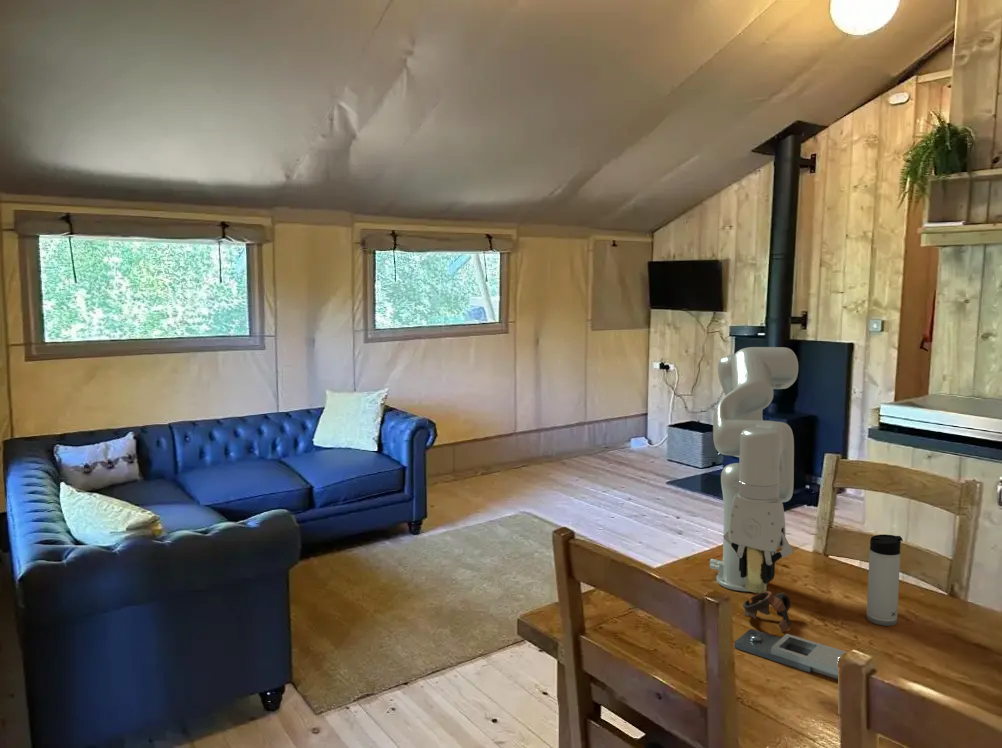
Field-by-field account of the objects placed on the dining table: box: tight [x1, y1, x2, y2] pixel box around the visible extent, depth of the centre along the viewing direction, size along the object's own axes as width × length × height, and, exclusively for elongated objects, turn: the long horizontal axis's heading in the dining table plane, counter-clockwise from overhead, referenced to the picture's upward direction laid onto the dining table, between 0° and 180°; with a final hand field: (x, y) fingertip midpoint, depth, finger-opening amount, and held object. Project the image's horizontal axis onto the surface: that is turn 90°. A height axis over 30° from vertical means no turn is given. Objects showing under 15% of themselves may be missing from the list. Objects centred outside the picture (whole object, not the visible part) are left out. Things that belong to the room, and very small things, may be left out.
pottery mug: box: [742, 590, 792, 634], centre depth 174 cm, size 12×10×8 cm
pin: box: [746, 547, 768, 594], centre depth 151 cm, size 5×5×11 cm
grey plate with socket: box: [734, 628, 847, 680], centre depth 157 cm, size 24×8×3 cm, turn 48°
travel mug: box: [866, 534, 903, 627], centre depth 172 cm, size 6×7×20 cm
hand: (756, 577), depth 152 cm, fingers closed on pin, 4 cm apart
